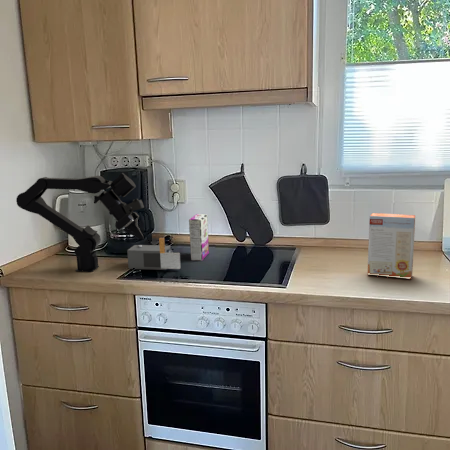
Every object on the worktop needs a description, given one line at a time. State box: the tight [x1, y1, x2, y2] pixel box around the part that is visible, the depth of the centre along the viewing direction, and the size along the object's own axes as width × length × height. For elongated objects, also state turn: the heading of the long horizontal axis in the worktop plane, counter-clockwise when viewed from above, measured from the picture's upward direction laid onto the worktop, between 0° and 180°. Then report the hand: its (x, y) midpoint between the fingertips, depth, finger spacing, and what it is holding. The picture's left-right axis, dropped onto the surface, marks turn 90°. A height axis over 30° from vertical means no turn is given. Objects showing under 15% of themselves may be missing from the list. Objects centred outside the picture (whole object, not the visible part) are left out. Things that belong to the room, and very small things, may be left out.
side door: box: [158, 237, 181, 270], centre depth 168 cm, size 7×1×11 cm, turn 81°
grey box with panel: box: [126, 244, 174, 271], centre depth 174 cm, size 15×8×8 cm, turn 81°
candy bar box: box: [188, 213, 210, 262], centre depth 185 cm, size 11×5×16 cm, turn 168°
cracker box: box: [367, 212, 416, 278], centre depth 157 cm, size 14×6×21 cm, turn 65°
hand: (142, 238), depth 169 cm, fingers closed
